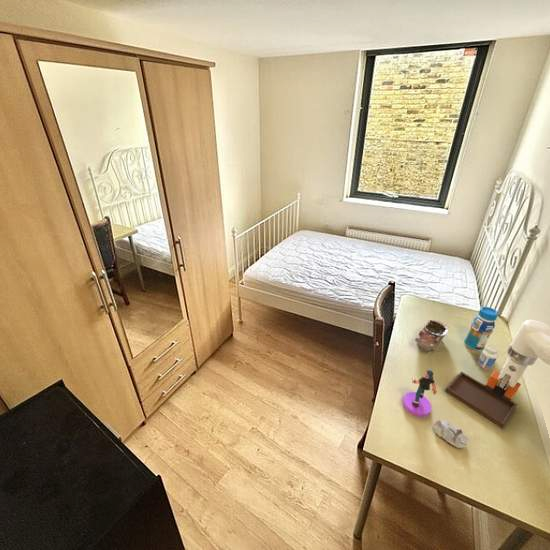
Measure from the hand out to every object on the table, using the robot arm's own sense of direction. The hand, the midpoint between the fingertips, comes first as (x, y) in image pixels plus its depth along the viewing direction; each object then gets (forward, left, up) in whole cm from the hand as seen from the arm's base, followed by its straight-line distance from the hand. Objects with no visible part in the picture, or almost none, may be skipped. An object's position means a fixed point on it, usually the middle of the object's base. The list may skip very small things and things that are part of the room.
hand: (499, 390), depth 106 cm
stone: (+4, +26, -8) cm, 27 cm away
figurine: (+17, +24, -8) cm, 30 cm away
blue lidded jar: (+17, -29, -8) cm, 35 cm away
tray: (+4, +2, -8) cm, 9 cm away
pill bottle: (+9, -19, -8) cm, 23 cm away
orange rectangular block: (0, 0, 0) cm, 0 cm away
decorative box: (+29, -12, -8) cm, 33 cm away
